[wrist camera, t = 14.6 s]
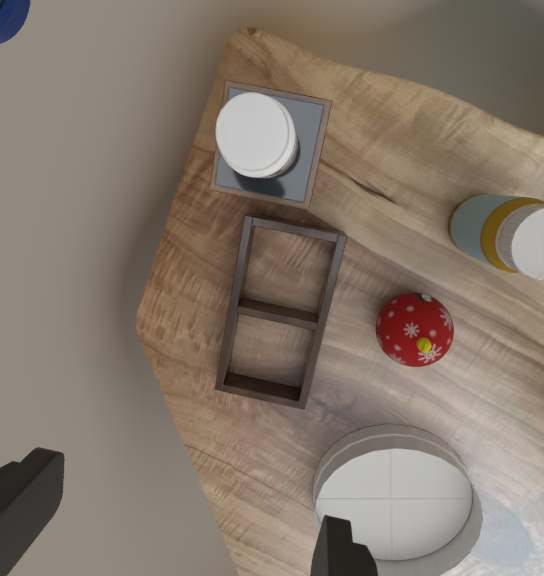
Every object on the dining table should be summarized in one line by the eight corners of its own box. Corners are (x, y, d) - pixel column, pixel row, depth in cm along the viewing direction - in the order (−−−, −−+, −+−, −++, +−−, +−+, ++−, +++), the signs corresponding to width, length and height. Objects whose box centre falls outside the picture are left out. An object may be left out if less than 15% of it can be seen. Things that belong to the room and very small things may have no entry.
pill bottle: (226, 163, 31) (195, 158, 22) (248, 100, 29) (224, 70, 21) (284, 187, 31) (274, 190, 23) (308, 125, 29) (307, 105, 21)
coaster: (216, 184, 32) (214, 184, 31) (230, 88, 30) (229, 86, 29) (303, 202, 31) (303, 202, 31) (324, 106, 29) (324, 104, 29)
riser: (245, 186, 49) (209, 189, 32) (257, 116, 47) (225, 79, 30) (309, 199, 49) (308, 210, 31) (324, 129, 47) (332, 100, 29)
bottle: (522, 217, 47) (616, 233, 32) (480, 265, 49) (551, 300, 34) (475, 182, 46) (549, 182, 32) (434, 231, 48) (487, 253, 34)
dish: (316, 551, 62) (317, 582, 57) (307, 425, 57) (307, 448, 52) (467, 554, 60) (480, 586, 55) (473, 422, 54) (489, 445, 49)
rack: (220, 377, 56) (214, 389, 53) (249, 212, 50) (244, 214, 46) (305, 396, 56) (304, 410, 52) (344, 232, 49) (347, 236, 46)
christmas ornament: (362, 338, 53) (373, 374, 43) (383, 276, 50) (400, 299, 41) (426, 356, 52) (452, 395, 43) (450, 295, 50) (483, 322, 40)
